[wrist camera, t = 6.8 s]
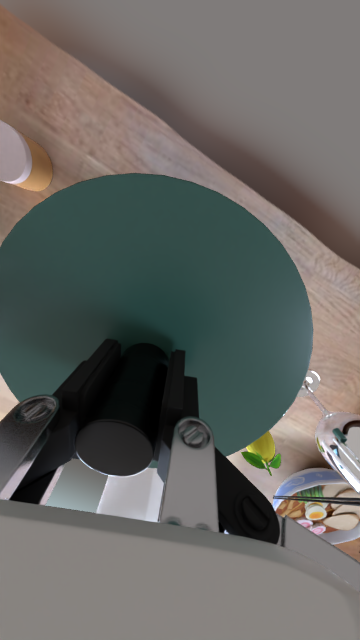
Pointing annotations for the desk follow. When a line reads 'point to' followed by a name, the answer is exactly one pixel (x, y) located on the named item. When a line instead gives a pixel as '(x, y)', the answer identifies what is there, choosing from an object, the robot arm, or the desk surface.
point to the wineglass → (336, 436)
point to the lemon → (262, 453)
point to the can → (133, 496)
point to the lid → (153, 311)
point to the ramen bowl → (320, 504)
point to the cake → (23, 160)
